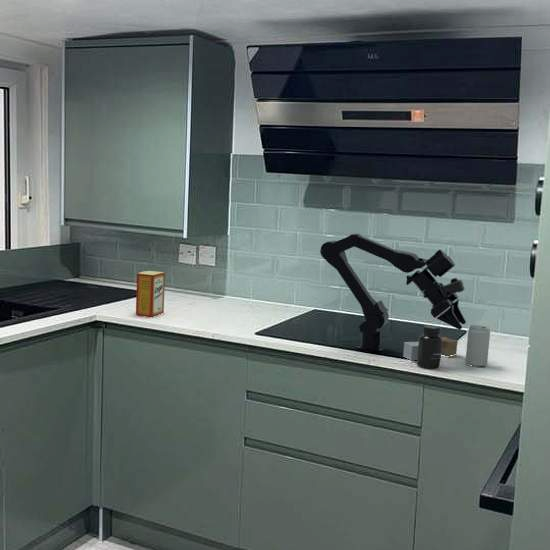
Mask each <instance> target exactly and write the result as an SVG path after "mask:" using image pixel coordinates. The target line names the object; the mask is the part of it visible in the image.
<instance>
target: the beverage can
mask: <svg viewBox="0 0 550 550" xmlns="http://www.w3.org/2000/svg"><path fill="white" fill-rule="evenodd" d="M467 331H468V333H467V340H466V342H467V343H466V350H465V351H466V353H465V363H466V364H467V363H468V364H469V365H468V364H467V365H468V366H470V365H472V366H471V367H474V366H484V367H485V366H486V365H488V359H489V350H490V349H489V348H490V338H491V336H490V335H491V331H490V327H489V326H486V325H480V324H471V325H469V328H468V330H467Z"/></svg>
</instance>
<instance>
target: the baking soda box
mask: <svg viewBox="0 0 550 550" xmlns="http://www.w3.org/2000/svg"><path fill="white" fill-rule="evenodd" d="M165 277H166V272H165V271H157V270H155V271H154V270H145V271H141V272H138V273H136V291H135V292H136V295H135V296H136V297H135V298H136V299H135V301H136V302H135V316H136V315H138V316H137V317H143V316H146V317H145V318H151V317H152V318H155V317H157V316H156V315H158V316H160V315H162V314H161V313H163V314H165V313H164V311H165V283H166V279H165ZM159 314H160V315H159ZM154 316H155V317H154Z"/></svg>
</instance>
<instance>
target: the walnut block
mask: <svg viewBox="0 0 550 550" xmlns="http://www.w3.org/2000/svg"><path fill="white" fill-rule="evenodd" d="M441 338H442V350H441V354H442V355H445V356H450V355H454V354H456V355H457V351H458V340H457V339H452V338H450V337H445V336H444V337H441Z"/></svg>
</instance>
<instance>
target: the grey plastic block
mask: <svg viewBox="0 0 550 550" xmlns="http://www.w3.org/2000/svg"><path fill="white" fill-rule="evenodd" d="M418 345H419V341H404V342H403V355H402V358H403V357H405V358H407V359H409V360H410V361H414V360H417V355H418ZM405 358H404V359H405ZM410 361H409V362H410Z"/></svg>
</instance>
